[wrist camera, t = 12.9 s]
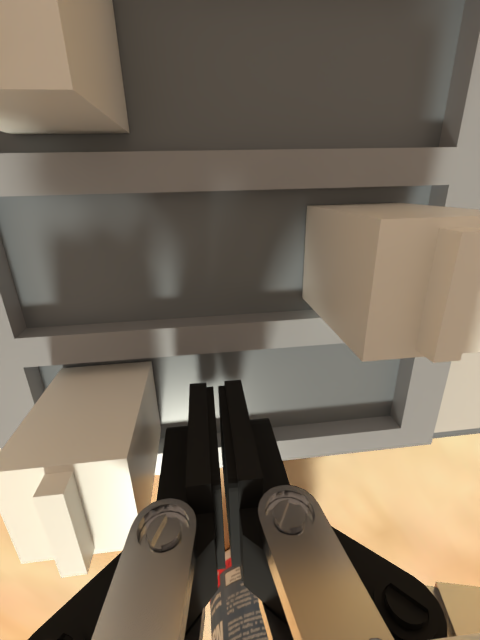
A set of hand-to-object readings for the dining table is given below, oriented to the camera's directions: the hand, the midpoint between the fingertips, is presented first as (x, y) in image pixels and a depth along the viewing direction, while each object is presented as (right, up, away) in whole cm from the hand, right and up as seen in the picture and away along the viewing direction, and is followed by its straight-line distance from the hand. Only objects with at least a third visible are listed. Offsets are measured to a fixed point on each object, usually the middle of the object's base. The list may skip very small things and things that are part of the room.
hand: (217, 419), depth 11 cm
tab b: (+4, +6, 0) cm, 7 cm away
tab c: (-4, 0, +1) cm, 4 cm away
